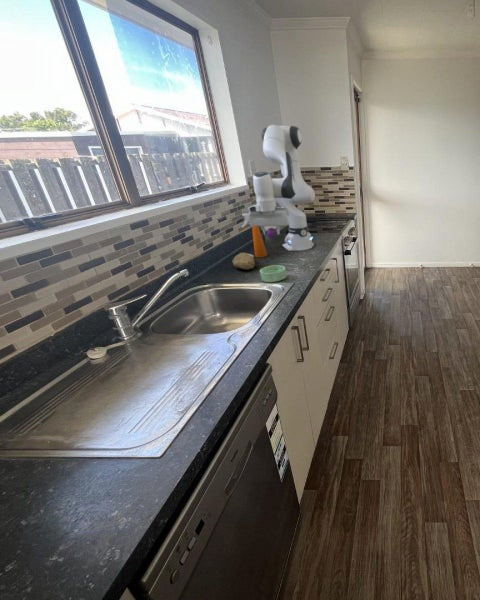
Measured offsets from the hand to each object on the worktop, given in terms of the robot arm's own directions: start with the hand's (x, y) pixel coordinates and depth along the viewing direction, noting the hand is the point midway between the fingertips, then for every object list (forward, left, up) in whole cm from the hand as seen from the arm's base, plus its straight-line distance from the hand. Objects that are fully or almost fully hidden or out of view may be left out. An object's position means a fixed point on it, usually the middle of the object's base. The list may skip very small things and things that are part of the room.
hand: (271, 234), depth 169 cm
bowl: (+9, -7, -20) cm, 23 cm away
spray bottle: (-34, +3, -20) cm, 40 cm away
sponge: (-20, -10, -20) cm, 30 cm away
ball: (0, 0, +1) cm, 1 cm away
